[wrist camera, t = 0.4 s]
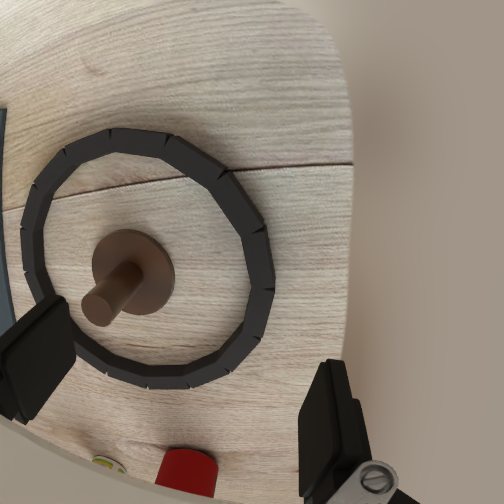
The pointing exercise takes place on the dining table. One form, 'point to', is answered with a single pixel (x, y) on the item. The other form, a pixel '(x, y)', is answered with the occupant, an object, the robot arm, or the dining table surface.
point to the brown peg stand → (128, 277)
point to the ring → (232, 205)
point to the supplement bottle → (109, 464)
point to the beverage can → (188, 472)
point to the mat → (3, 313)
